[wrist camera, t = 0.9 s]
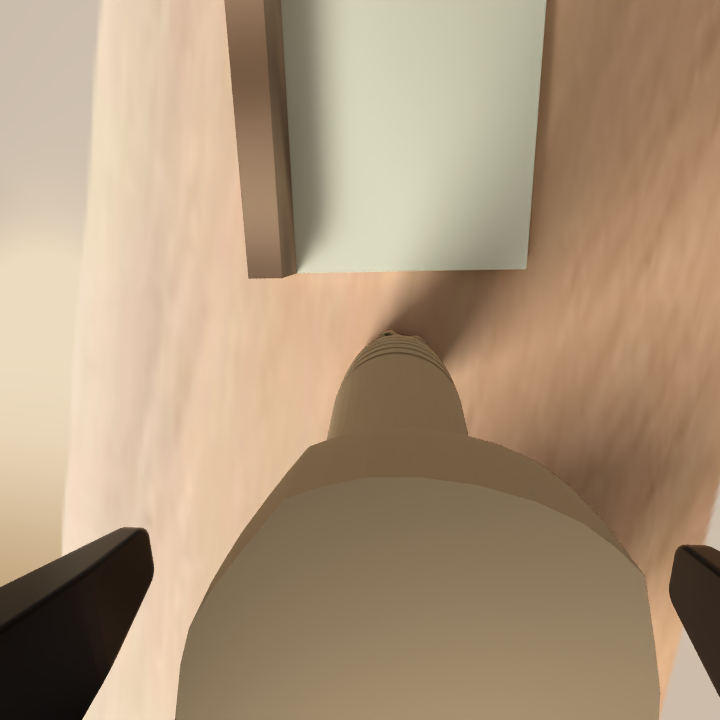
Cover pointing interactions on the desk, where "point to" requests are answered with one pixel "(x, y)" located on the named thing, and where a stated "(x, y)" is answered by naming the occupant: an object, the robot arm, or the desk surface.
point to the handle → (420, 578)
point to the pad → (412, 132)
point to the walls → (262, 135)
